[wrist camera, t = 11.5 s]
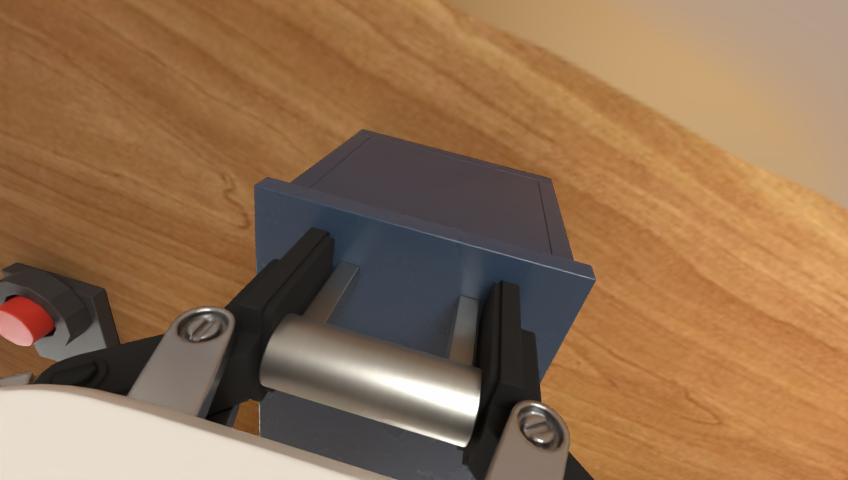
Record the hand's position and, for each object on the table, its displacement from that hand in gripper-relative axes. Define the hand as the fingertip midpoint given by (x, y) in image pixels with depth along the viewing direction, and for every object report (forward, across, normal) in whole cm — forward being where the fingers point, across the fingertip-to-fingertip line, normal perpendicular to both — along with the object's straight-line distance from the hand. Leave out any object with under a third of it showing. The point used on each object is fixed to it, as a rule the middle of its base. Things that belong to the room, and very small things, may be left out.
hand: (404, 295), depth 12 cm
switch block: (+11, +29, +22) cm, 38 cm away
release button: (+8, +29, +19) cm, 36 cm away
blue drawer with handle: (+1, 0, +4) cm, 5 cm away
